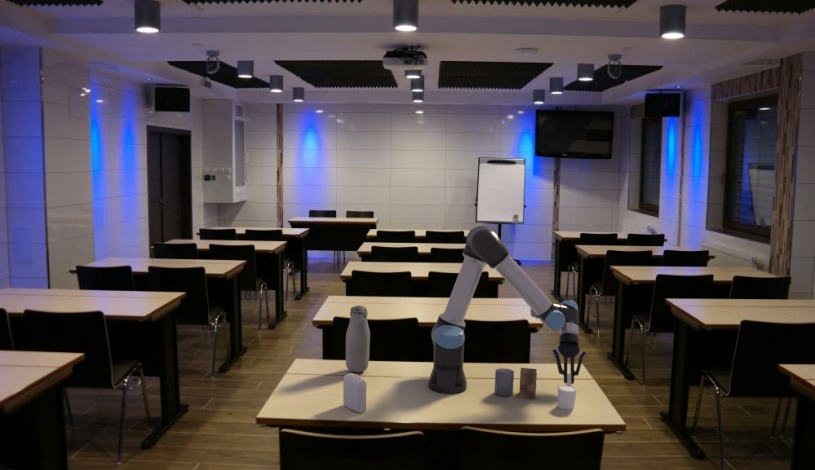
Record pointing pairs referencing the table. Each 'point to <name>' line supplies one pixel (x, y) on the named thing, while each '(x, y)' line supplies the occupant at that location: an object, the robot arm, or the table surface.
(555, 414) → the table surface
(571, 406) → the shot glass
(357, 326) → the grey bottle
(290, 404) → the table surface
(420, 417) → the table surface
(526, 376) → the walnut block
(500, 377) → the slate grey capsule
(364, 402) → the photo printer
